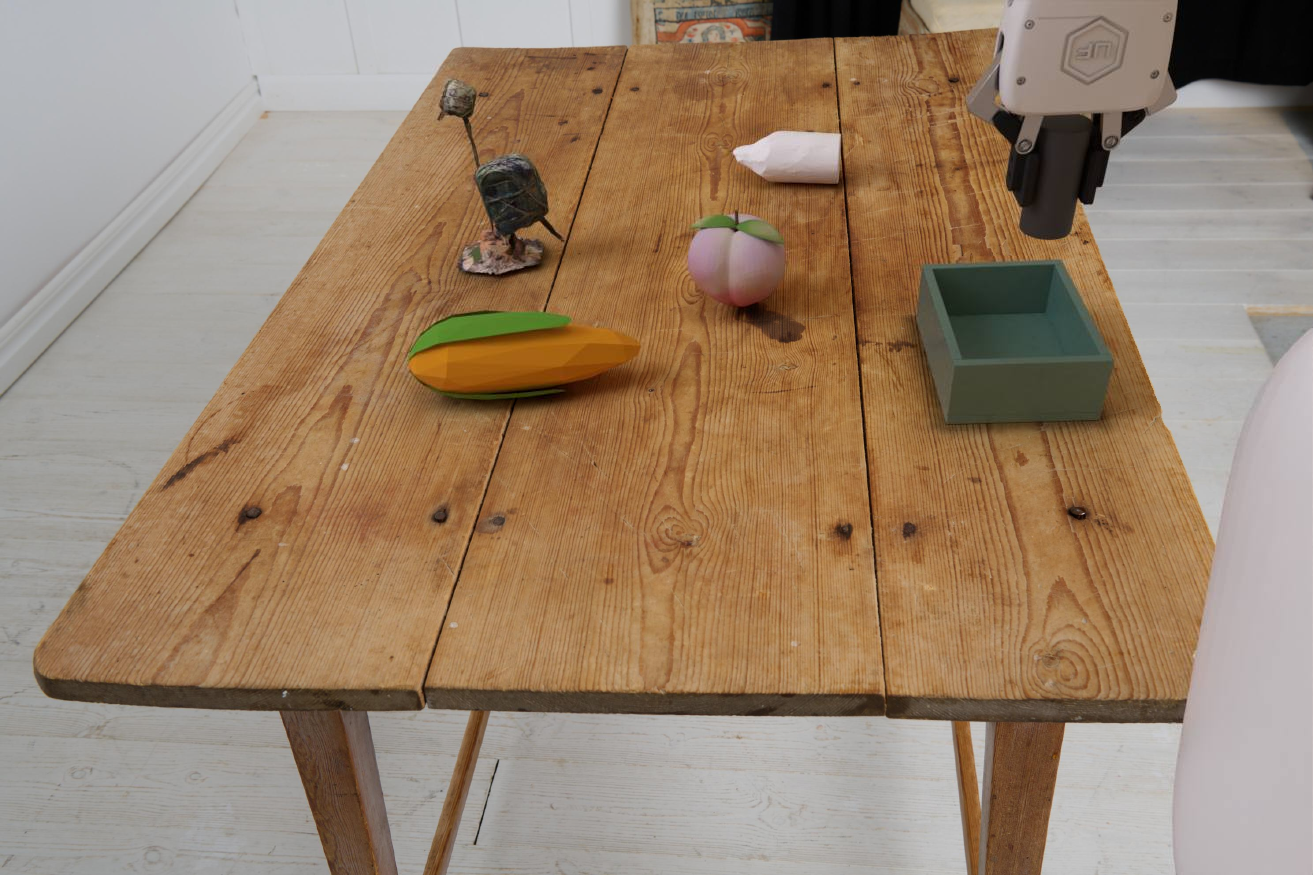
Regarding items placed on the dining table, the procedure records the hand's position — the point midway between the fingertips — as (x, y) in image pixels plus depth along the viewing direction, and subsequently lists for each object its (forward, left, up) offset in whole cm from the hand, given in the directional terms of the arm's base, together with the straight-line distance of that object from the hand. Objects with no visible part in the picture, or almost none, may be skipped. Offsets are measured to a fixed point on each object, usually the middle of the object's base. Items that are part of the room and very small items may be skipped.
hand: (1051, 195), depth 75 cm
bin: (+4, -4, -19) cm, 20 cm away
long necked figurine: (+50, +16, -19) cm, 56 cm away
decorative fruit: (+27, +5, -19) cm, 34 cm away
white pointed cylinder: (+43, -17, -19) cm, 50 cm away
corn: (+30, +27, -19) cm, 45 cm away
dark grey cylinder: (0, 0, -3) cm, 3 cm away
